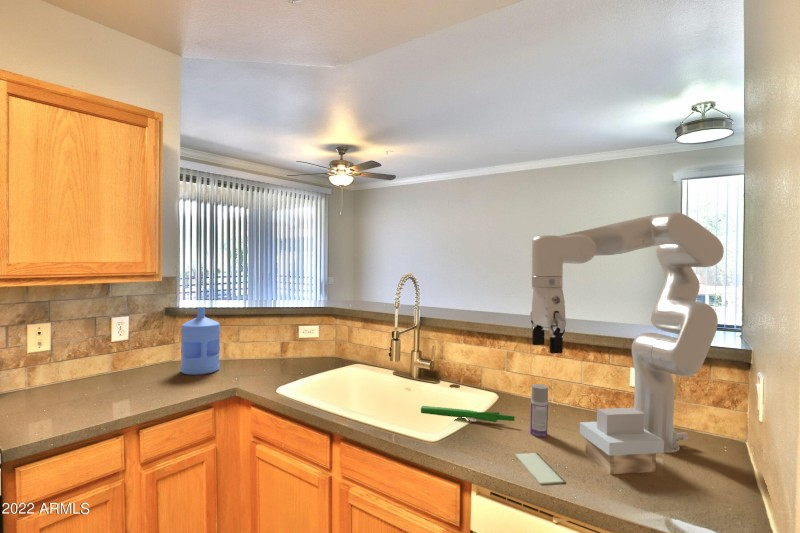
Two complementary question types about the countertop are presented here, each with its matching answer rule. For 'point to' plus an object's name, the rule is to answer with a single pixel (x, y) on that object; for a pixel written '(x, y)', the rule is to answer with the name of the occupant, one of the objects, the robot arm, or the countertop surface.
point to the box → (621, 461)
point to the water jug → (200, 345)
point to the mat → (539, 468)
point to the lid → (621, 432)
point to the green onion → (465, 414)
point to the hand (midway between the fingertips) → (546, 348)
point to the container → (539, 410)
